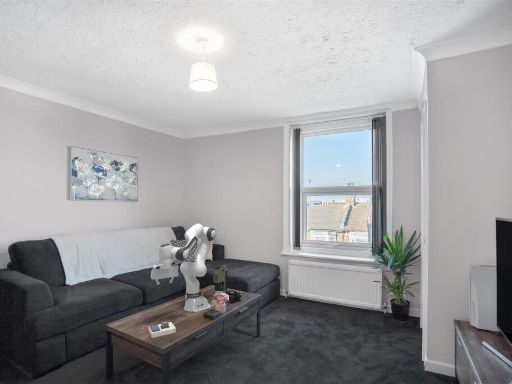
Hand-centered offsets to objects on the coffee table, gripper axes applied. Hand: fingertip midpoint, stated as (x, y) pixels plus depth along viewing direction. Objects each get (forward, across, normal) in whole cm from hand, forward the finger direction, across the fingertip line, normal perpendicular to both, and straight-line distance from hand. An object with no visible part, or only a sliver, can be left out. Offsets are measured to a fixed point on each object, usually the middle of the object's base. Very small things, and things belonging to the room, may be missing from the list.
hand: (164, 283), depth 220 cm
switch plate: (+29, +5, +15) cm, 33 cm away
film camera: (+29, -65, -15) cm, 73 cm away
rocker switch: (+29, +3, +15) cm, 33 cm away
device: (+29, -63, -36) cm, 78 cm away
